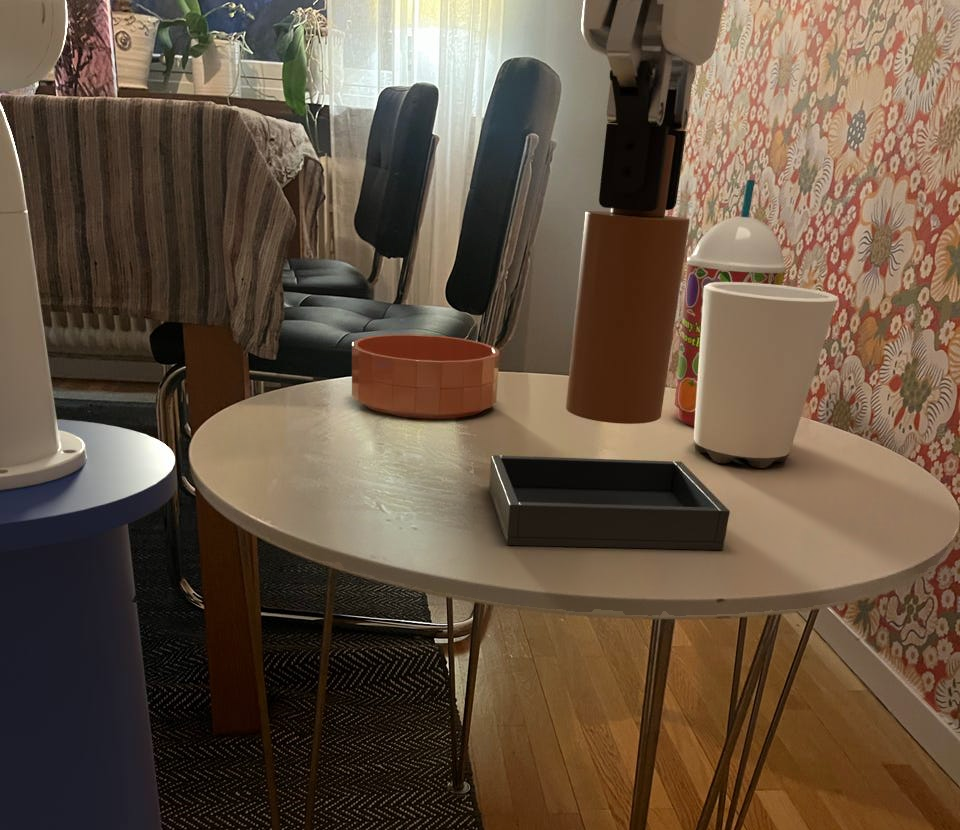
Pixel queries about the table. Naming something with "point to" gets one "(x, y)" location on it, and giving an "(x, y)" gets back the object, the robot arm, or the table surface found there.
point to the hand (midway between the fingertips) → (637, 205)
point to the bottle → (626, 310)
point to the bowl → (424, 375)
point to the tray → (604, 504)
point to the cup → (756, 367)
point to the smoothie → (722, 258)
